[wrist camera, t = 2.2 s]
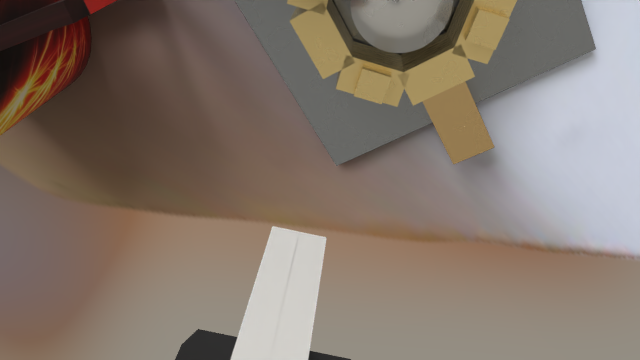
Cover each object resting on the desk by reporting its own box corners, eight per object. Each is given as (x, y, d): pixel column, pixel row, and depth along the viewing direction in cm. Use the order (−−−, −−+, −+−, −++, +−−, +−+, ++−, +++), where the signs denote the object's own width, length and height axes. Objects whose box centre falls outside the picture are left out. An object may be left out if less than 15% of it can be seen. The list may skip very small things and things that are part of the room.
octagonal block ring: (261, -54, 28) (247, -44, 25) (453, -176, 25) (466, -183, 21) (386, 167, 35) (388, 198, 31) (553, 95, 31) (574, 121, 28)
